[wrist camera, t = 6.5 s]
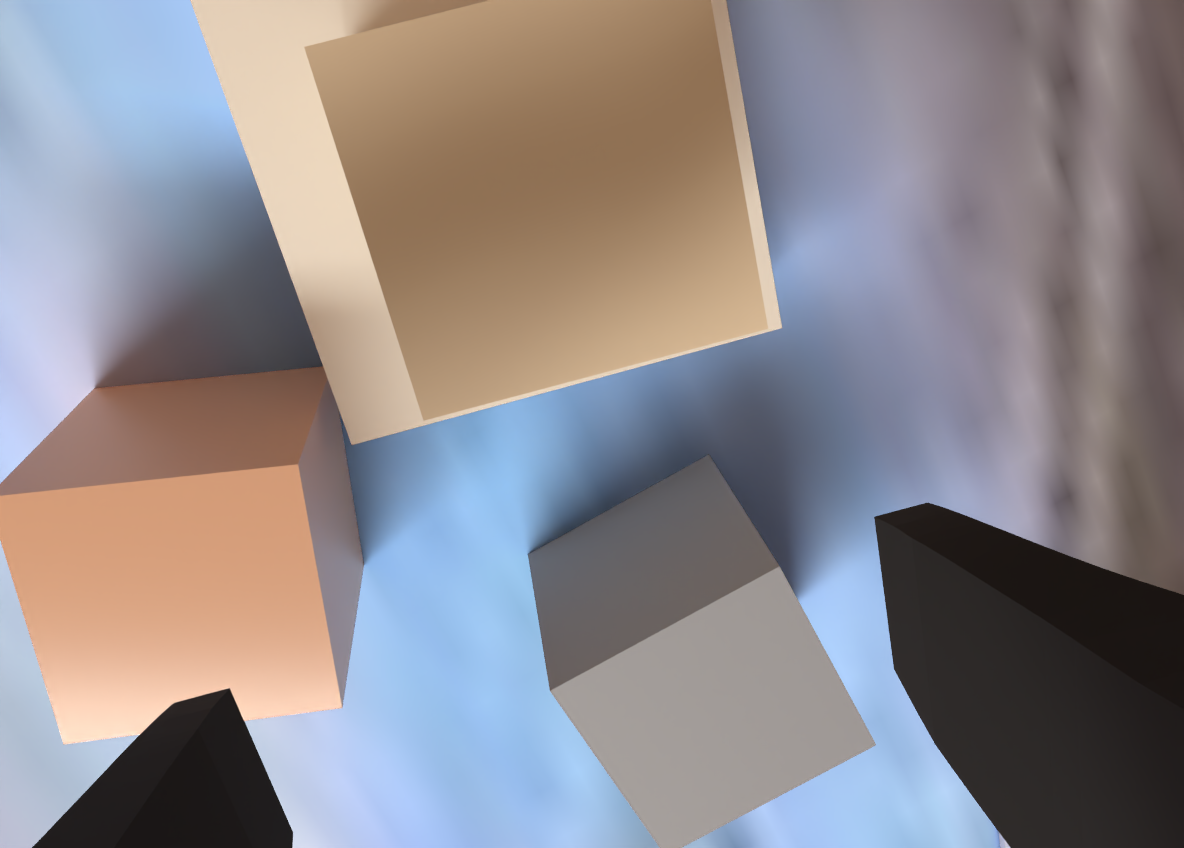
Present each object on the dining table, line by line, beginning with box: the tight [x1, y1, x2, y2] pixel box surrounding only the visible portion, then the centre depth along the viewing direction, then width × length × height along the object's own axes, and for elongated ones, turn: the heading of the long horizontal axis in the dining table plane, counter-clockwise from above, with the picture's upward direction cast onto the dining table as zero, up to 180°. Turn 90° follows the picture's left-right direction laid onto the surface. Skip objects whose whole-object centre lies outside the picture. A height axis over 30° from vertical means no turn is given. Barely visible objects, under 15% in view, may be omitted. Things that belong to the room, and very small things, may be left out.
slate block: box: [528, 455, 876, 848], centre depth 20 cm, size 4×4×5 cm
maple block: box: [304, 0, 768, 421], centre depth 14 cm, size 4×4×5 cm
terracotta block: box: [0, 366, 364, 744], centre depth 18 cm, size 4×4×5 cm
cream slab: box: [190, 0, 782, 445], centre depth 18 cm, size 8×8×3 cm
